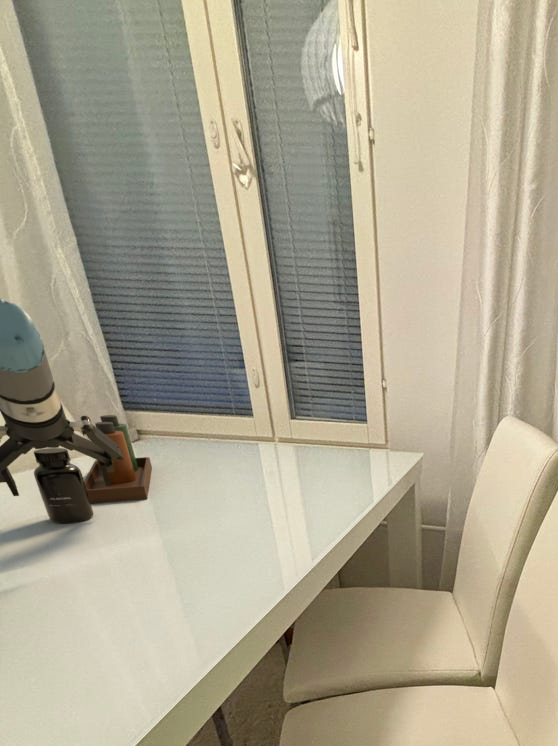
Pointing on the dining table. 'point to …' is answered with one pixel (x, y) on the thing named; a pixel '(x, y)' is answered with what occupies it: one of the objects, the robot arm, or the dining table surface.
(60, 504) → the supplement bottle
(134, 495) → the tray
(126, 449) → the row bottles
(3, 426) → the robot arm
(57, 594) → the dining table surface
